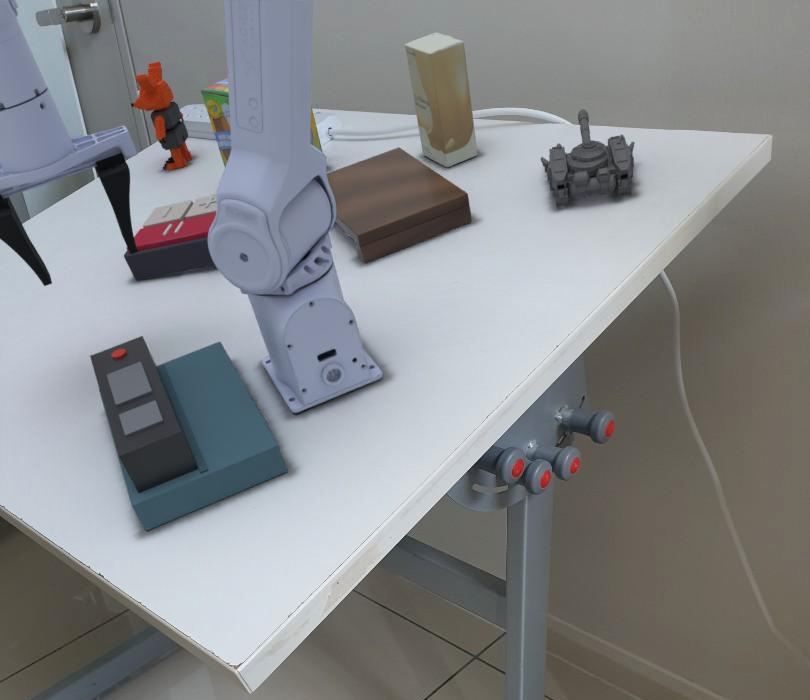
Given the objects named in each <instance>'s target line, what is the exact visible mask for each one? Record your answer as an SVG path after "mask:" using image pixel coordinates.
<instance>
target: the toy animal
mask: <svg viewBox="0 0 810 700" xmlns="http://www.w3.org/2000/svg"><path fill="white" fill-rule="evenodd" d="M135 82H136V83H137V84H138V87H139V89H138V90H137V91H136V93H137V97H138V98H136V99H135V101H134V102H132V103H130V106H131V108H134V109H138V110H142V111H143V110H144V111H146V112H151V113H150V120H151V122H152V124H153V127H154V130H155V138H156V140H158V143H159V144H160V145H161V148H162V149H164V151H169V152H170V157H168V158H167V160H165V163H164V164H163V165H164V166H163V167H162V169H163V171H174V170H175V169H181V168H184V167H187V166H188V163H187V162H188V161H190V160H193V156H192V153H191V151H189V148H188V146H187V145H188V144H187V143H186V141H187V140H188V138H189V131H188V130H187V127H186V124H185V120H184V114H183V112H182V111H181V110H180V106H179V104H178V103H177V102H176V101H173V100H174V99H175V96H174V94H173V90H172V88H171V86H169V84H168V83H167V82H166V81H165V79H163V69H162V63H161V62H160V61H155V62H150V63H148V68H147V74H146V73H142V74H137V75H135Z"/></svg>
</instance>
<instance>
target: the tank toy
mask: <svg viewBox="0 0 810 700" xmlns="http://www.w3.org/2000/svg"><path fill="white" fill-rule="evenodd" d="M577 121H578V124H579V130H580V136H581V143H579V144H578V145H577V146H574V147H573V148H572V149H571V151H570V152H569V153H568V152H566V148H565V146H563V145H562V144H561V143H557V144H556V146H551V148H549V150H548V151H549V160H548V159H547V158H544V156H541V157H540V162H541V164H542V167H543V168H544V173H546V176H547V182H549V191H550V192H552V197H554V204H555V206H556V207H557V206H565V205H568V204H569V196H571V197H573V199H576V198H578V199H584V198H586V197H587V196H595V195H599V194H600V195H603V196H604V195H608V194H609V193H612V192H614V191H615V190H616V192H617V196H618V197H619V196H620V197H621V196H627V195H632V183H633V179H632V178H634V168H635V159H634V158H635V157H634V156H633V155H634V154H633V153H634V152H633V151H634V148H635V142H634V141H631V142H630V144H628V143H627V140H626V137H625V136H624V134H620V135H615V136H611V137H609V138H607V145H605V143H603V142H601V141H600V140H591V139H592V138H591V130H590V124H589V122H590V117H589V113H588V111H587V110H586V109H580V110H579V111H578V114H577Z"/></svg>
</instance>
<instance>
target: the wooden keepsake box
mask: <svg viewBox="0 0 810 700" xmlns="http://www.w3.org/2000/svg"><path fill="white" fill-rule="evenodd" d="M327 178H328V182H329V185H330V187H331V190H332V192H333V195H334V198H335V202H336V218H335V222H334V223H335V224H337V226H338V227H339V228H341V230H343V232H344V233H346V234H347V235H348V236H349V238H351V239H352V240H353V241H354V244H355V248H356V252H357V257H358V259H359V260H360V261H361V263H363V264H367V263H370V262H372V261H375V260H377V259H380V258H383V257H385V256H388V255H390V254H393V253H396V252H398V251H401V250H403V249H406V248H409V247H412V246H414V245H417V244H419V243H422V242H424V241H427V240H429V239H432V238H435V237H437V236H440V235H443V234H445V233H447V232H450V231H452V230H453V231H454V230H456V229H459V228H461V227H463V226H466V225H469V224H471V223H472V222H473V219H472V213H471V206H470V199H469V194H468V192H467V191H465V190H463V189H462V188H460V187H459V186H457V185H456V184H455V183H453V182H451V181H450V180H449V179H447V178H446V177H444V176H443V175H441V174H440V173H438V172H436V171H435V170H434V169H433V168H431V167H429V166H428V165H426V164H425V163H423V162H422V161H421V160H419V159H417V158H416V157H414V156H413V155H411V154H410V153H409V152H407V151H406V150H404V149H403V148H401V147H396V148H393V149H391V150H388V151H385V152H382V153H379V154H377V155H373V156H371V157H368V158H366V159H363V160H360V161H357V162H355V163H352V164H349V165H346V166H343V167H340V168H338V169H335V170H333V171H330V172H328V173H327Z"/></svg>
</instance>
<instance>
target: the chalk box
mask: <svg viewBox="0 0 810 700" xmlns="http://www.w3.org/2000/svg"><path fill="white" fill-rule="evenodd" d="M200 93H201V96H202V99H203V102H204V104H205V108H206V111H207V114H208V118H209V121H210V125H211V127H212V131H213V134H214V137H215V140H216V144H217V147H218V150H219V154H220V157H221V161H222V163H223V166H224V168H225V167H226V164H227V162H228V159H229V156H230V153H231V149H232V147H231V128H230V109H229V90H228V77H227V78H224V79H222V80H219V81H217V82H215V83H212V84H210V85H208V86H206V87H202V88H201V89H200ZM310 144H311V145H313V146H314V147H316V148H317V149H319V150H320V151H321V152H323V149H322V148H323V147H322V143H321V140H320V136H319V131H318V127H317V123H316V118H315V114H314V110H313V106H312V105H311V128H310ZM326 169H328V168H327V166H326Z"/></svg>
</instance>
